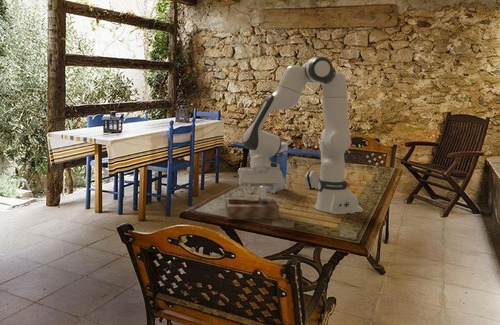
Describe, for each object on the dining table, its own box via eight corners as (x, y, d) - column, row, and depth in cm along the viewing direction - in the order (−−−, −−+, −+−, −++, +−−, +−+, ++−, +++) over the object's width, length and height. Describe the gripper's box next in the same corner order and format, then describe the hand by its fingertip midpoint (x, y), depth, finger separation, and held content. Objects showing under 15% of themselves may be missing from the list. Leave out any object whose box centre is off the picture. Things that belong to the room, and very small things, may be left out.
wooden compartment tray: (227, 219, 181) (227, 206, 180) (225, 209, 195) (225, 197, 194) (278, 219, 184) (279, 206, 183) (272, 209, 198) (273, 198, 197)
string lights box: (274, 186, 244) (277, 141, 239) (286, 188, 239) (289, 143, 235) (262, 190, 233) (264, 143, 228) (274, 193, 229) (276, 145, 224)
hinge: (316, 189, 240) (311, 172, 239) (308, 191, 242) (303, 174, 241) (323, 184, 255) (318, 167, 255) (315, 185, 257) (311, 169, 257)
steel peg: (266, 210, 193) (268, 184, 191) (269, 214, 188) (270, 187, 186) (254, 210, 193) (256, 184, 190) (256, 213, 187) (257, 187, 185)
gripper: (238, 163, 193) (239, 190, 185) (282, 164, 196) (286, 190, 188) (237, 171, 198) (238, 197, 191) (280, 172, 201) (283, 197, 193)
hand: (262, 193), depth 189 cm, fingers open, 8 cm apart
